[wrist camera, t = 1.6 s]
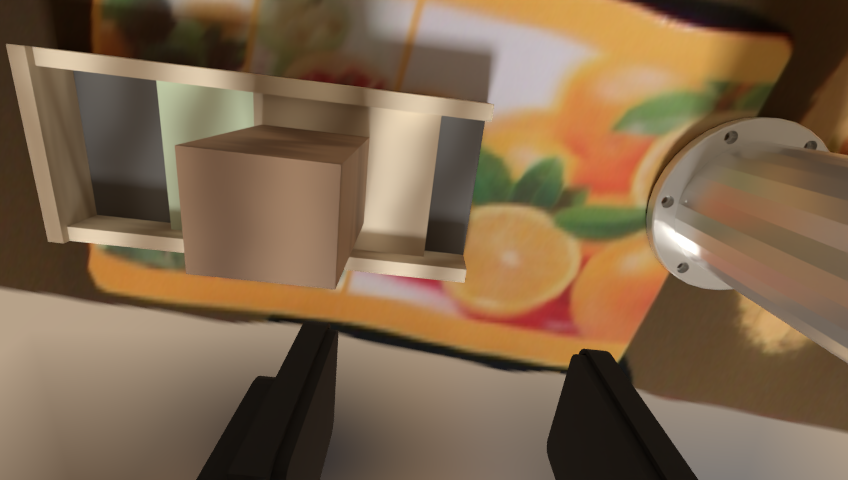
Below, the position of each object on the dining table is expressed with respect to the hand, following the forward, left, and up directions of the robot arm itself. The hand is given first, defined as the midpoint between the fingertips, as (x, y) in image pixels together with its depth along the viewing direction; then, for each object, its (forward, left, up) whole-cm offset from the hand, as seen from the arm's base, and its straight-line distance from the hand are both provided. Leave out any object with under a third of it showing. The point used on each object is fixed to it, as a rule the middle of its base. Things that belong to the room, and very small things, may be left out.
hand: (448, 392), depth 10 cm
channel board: (+11, 0, -21) cm, 24 cm away
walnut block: (+8, 0, -20) cm, 22 cm away
